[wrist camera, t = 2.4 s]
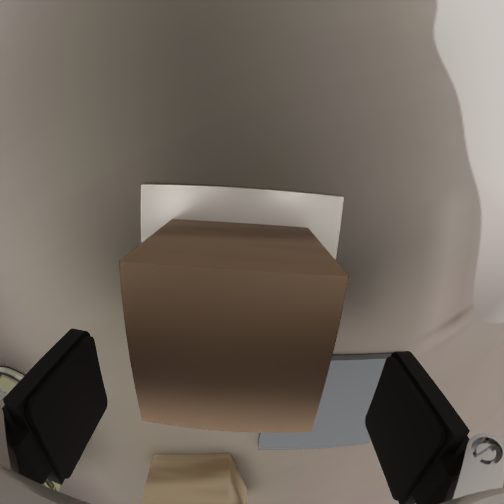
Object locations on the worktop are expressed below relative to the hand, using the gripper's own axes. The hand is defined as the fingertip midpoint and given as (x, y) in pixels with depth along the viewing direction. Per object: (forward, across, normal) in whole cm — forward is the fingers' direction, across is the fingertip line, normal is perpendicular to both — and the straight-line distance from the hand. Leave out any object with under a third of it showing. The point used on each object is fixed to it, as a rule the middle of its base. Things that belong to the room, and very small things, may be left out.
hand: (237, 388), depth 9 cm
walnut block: (+6, 0, -1) cm, 6 cm away
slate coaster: (+7, -6, +7) cm, 11 cm away
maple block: (+7, +2, +16) cm, 18 cm away
